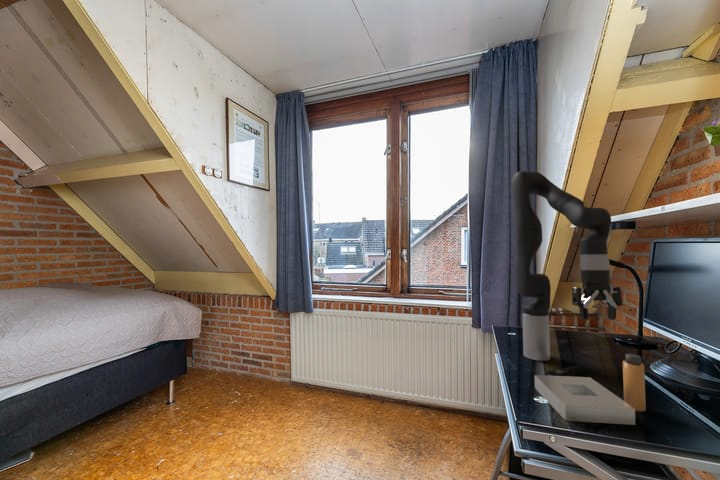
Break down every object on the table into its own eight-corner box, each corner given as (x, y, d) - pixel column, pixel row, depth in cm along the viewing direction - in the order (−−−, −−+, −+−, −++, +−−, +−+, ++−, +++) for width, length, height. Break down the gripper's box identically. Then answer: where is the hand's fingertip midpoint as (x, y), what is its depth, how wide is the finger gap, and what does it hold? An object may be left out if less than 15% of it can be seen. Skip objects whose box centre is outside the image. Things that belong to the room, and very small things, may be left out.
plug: (620, 402, 85) (618, 352, 86) (637, 403, 85) (635, 353, 85) (631, 411, 81) (630, 358, 81) (650, 412, 80) (648, 359, 81)
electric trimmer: (585, 376, 104) (585, 367, 104) (554, 383, 98) (554, 373, 98) (574, 372, 107) (574, 363, 107) (543, 379, 102) (543, 369, 102)
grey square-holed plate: (534, 387, 95) (534, 374, 95) (590, 390, 93) (590, 377, 93) (565, 420, 77) (565, 404, 77) (635, 424, 75) (634, 408, 75)
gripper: (607, 268, 101) (610, 317, 100) (564, 268, 101) (567, 317, 100) (626, 268, 94) (631, 321, 93) (581, 269, 94) (584, 322, 93)
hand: (598, 319), depth 96 cm, fingers open, 8 cm apart
